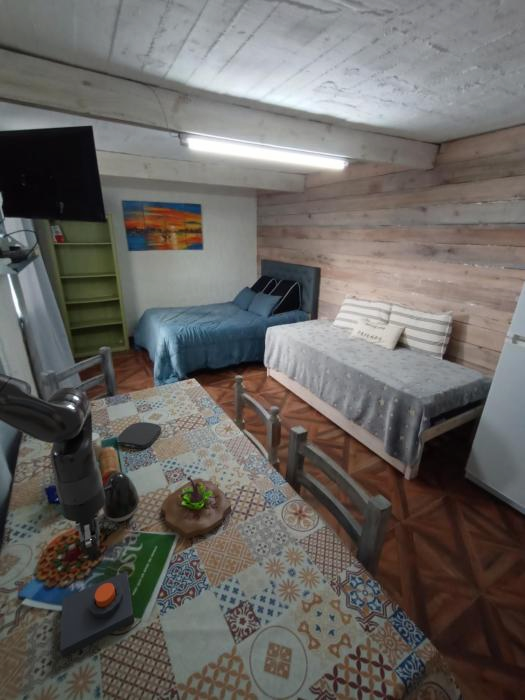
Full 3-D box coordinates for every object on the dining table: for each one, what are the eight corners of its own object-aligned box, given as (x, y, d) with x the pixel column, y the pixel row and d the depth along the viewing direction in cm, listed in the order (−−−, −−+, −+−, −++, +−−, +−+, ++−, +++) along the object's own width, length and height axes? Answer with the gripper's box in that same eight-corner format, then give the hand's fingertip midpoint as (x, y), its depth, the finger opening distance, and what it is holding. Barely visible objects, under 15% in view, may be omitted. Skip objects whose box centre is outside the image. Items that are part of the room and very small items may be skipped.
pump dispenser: (96, 521, 95) (88, 482, 90) (122, 496, 105) (115, 459, 99) (123, 532, 92) (116, 492, 87) (147, 505, 101) (142, 467, 96)
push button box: (62, 658, 65) (58, 645, 63) (64, 606, 74) (60, 593, 72) (134, 622, 71) (132, 609, 70) (128, 577, 80) (126, 565, 79)
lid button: (96, 611, 70) (95, 605, 69) (95, 593, 73) (94, 587, 72) (116, 601, 71) (114, 595, 71) (114, 585, 75) (113, 579, 74)
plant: (188, 550, 88) (186, 520, 84) (152, 510, 100) (148, 482, 96) (241, 508, 101) (240, 480, 98) (203, 477, 114) (202, 451, 110)
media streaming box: (164, 429, 140) (163, 424, 139) (147, 450, 127) (146, 444, 126) (134, 425, 142) (133, 420, 141) (114, 446, 129) (113, 439, 128)
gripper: (59, 471, 65) (75, 532, 71) (55, 523, 53) (74, 591, 60) (100, 460, 68) (111, 519, 74) (104, 506, 57) (117, 572, 63)
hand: (95, 551), depth 67 cm, fingers closed
